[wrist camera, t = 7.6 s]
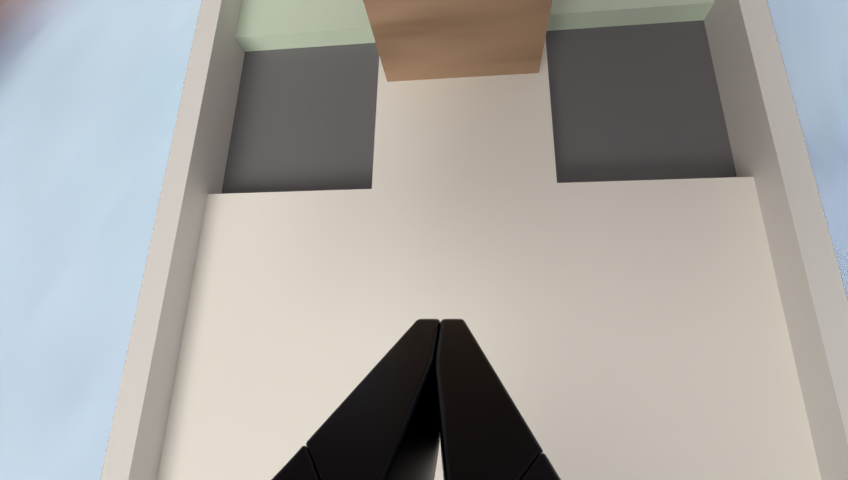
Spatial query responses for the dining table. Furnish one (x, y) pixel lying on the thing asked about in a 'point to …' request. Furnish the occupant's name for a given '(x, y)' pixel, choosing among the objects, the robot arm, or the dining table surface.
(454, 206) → the white recessed tray
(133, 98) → the dining table surface
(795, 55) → the dining table surface
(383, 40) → the walnut block
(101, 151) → the dining table surface
